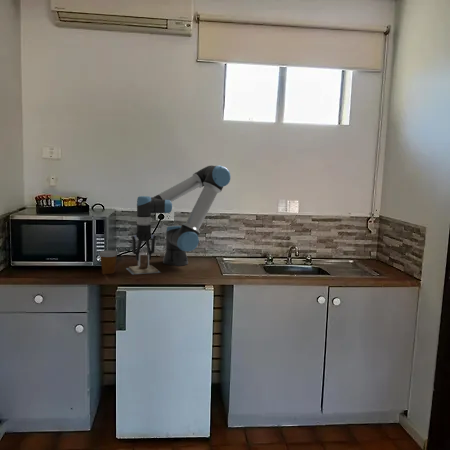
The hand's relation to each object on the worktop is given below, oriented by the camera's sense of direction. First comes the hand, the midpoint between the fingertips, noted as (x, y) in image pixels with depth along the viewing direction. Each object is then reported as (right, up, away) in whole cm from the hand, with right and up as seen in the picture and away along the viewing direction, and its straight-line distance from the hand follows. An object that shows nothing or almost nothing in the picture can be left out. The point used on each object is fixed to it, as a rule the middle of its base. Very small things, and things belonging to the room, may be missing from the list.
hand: (143, 265), depth 261 cm
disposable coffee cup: (-18, -4, -7) cm, 19 cm away
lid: (0, -3, 0) cm, 3 cm away
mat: (0, -3, 0) cm, 3 cm away
